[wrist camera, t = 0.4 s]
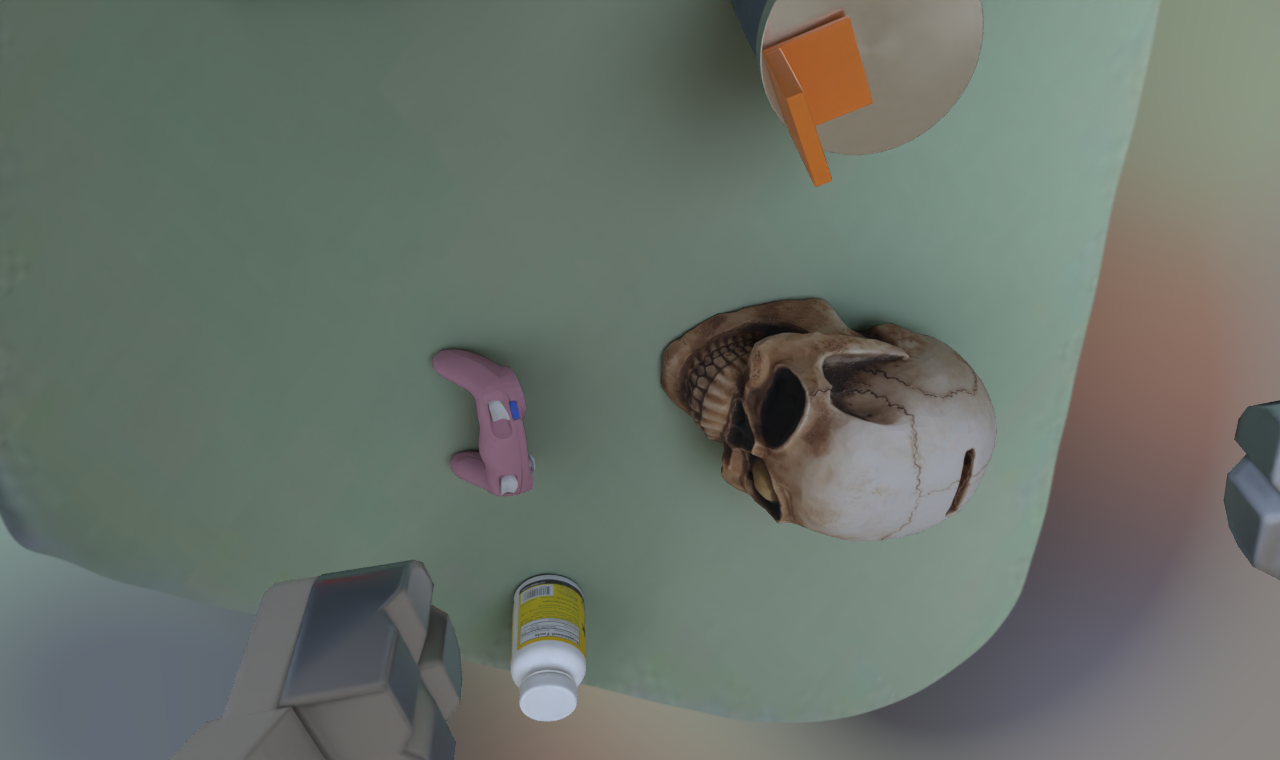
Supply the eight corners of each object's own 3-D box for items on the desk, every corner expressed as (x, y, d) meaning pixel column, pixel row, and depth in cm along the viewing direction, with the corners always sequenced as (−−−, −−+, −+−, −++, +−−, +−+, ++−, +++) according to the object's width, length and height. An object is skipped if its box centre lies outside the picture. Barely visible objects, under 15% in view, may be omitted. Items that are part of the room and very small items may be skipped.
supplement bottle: (564, 627, 79) (563, 736, 71) (501, 606, 77) (494, 715, 69) (597, 585, 76) (600, 693, 68) (533, 562, 74) (529, 670, 66)
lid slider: (789, 132, 42) (815, 188, 38) (761, 50, 40) (785, 98, 36) (871, 99, 42) (907, 152, 37) (847, 14, 40) (882, 59, 35)
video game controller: (508, 445, 70) (552, 504, 65) (446, 468, 68) (486, 530, 63) (492, 326, 64) (539, 381, 59) (425, 347, 62) (467, 405, 57)
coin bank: (638, 356, 64) (680, 492, 53) (877, 209, 61) (974, 321, 50) (749, 500, 72) (805, 642, 61) (963, 378, 69) (1062, 505, 58)
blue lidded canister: (755, 90, 54) (797, 186, 44) (697, -78, 49) (729, -12, 39) (920, 22, 52) (1002, 106, 43) (878, -160, 47) (960, -112, 37)
